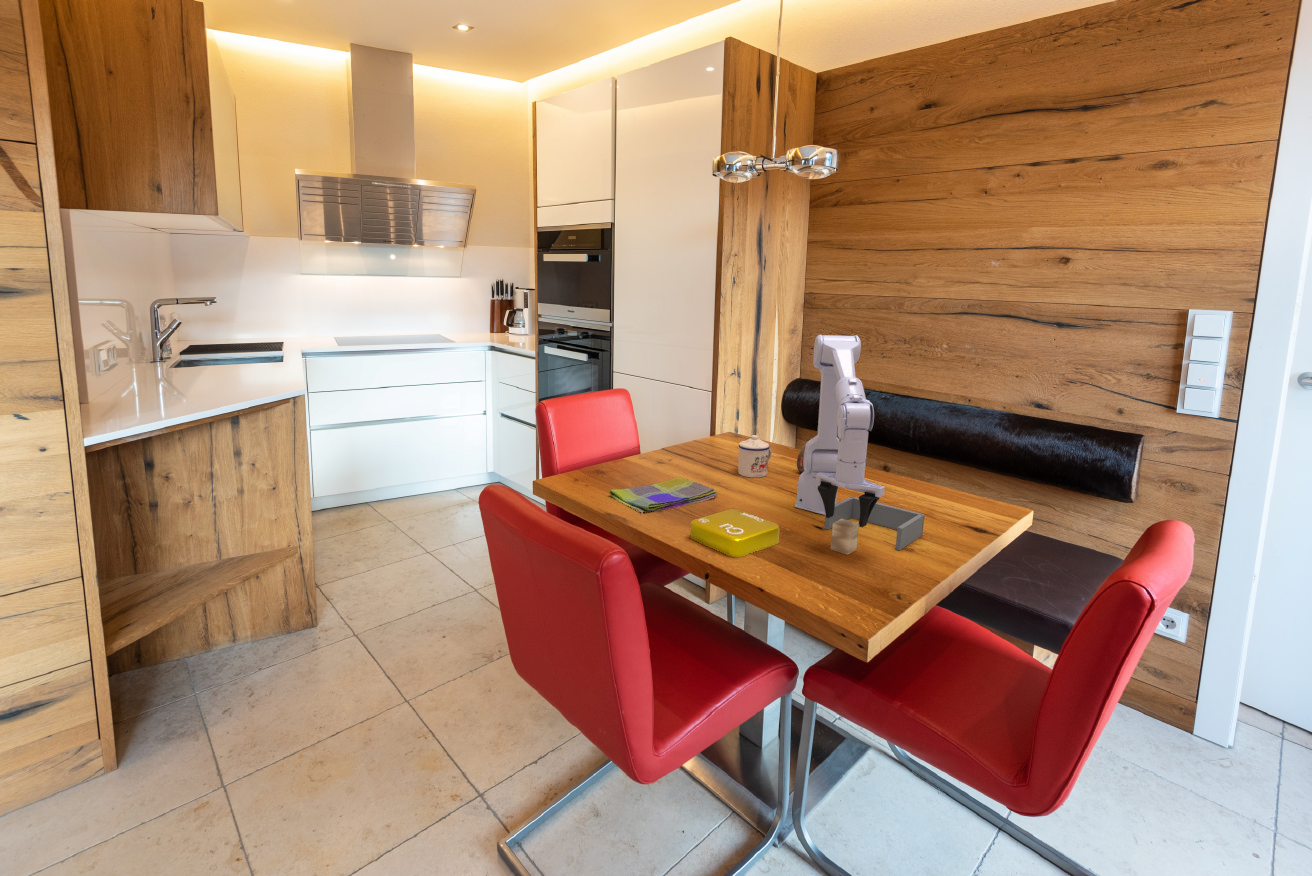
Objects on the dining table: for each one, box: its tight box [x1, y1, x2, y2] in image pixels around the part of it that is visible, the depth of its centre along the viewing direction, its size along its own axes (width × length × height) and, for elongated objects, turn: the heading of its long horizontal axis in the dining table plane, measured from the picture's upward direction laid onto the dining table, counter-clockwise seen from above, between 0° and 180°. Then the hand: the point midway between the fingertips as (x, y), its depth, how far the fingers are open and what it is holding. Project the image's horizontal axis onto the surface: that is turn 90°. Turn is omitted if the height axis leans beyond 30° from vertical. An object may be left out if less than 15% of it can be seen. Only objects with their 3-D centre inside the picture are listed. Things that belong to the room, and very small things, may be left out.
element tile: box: [690, 508, 780, 558], centre depth 148 cm, size 15×15×5 cm
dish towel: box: [609, 476, 718, 514], centre depth 176 cm, size 18×24×3 cm
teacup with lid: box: [737, 434, 773, 479], centre depth 198 cm, size 12×9×12 cm
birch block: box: [830, 519, 860, 556], centre depth 143 cm, size 4×4×6 cm
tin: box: [796, 444, 806, 473], centre depth 203 cm, size 15×3×8 cm, turn 141°
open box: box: [823, 495, 926, 551], centre depth 153 cm, size 18×12×5 cm
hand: (845, 521), depth 142 cm, fingers open, 7 cm apart
